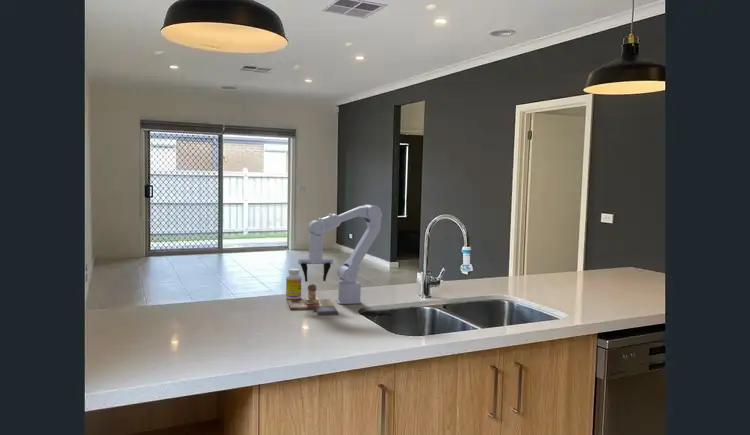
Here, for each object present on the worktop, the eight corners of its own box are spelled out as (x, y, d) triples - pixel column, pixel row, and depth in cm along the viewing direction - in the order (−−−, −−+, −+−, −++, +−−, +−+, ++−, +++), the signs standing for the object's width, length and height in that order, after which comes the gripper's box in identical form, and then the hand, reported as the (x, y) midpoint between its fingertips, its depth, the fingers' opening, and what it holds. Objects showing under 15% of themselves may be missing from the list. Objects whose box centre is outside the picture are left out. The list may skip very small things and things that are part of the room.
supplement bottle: (299, 300, 233) (300, 270, 232) (284, 299, 233) (285, 270, 232) (302, 296, 240) (302, 268, 239) (287, 296, 240) (287, 267, 239)
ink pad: (334, 309, 219) (334, 306, 219) (338, 314, 211) (338, 311, 211) (315, 310, 217) (315, 307, 217) (317, 315, 209) (317, 312, 209)
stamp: (316, 302, 226) (317, 282, 225) (318, 304, 221) (319, 284, 220) (304, 302, 224) (305, 282, 224) (306, 305, 220) (307, 285, 219)
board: (329, 301, 232) (329, 298, 232) (334, 308, 220) (334, 306, 220) (287, 302, 228) (288, 299, 228) (290, 310, 216) (290, 307, 216)
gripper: (299, 250, 219) (298, 283, 221) (334, 250, 223) (333, 282, 224) (297, 248, 226) (297, 279, 227) (331, 248, 230) (331, 279, 231)
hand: (315, 281), depth 226 cm, fingers open, 7 cm apart
